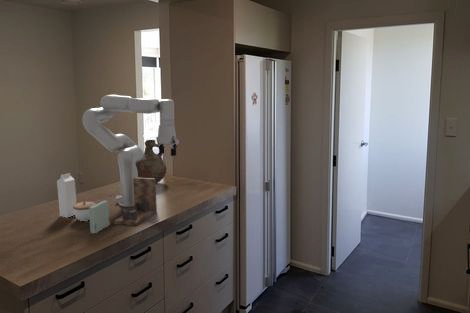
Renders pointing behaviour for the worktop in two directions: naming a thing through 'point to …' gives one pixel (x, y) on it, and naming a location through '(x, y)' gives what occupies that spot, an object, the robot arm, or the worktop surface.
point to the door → (99, 216)
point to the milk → (66, 195)
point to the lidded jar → (82, 210)
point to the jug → (151, 163)
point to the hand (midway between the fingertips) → (167, 154)
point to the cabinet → (140, 202)
